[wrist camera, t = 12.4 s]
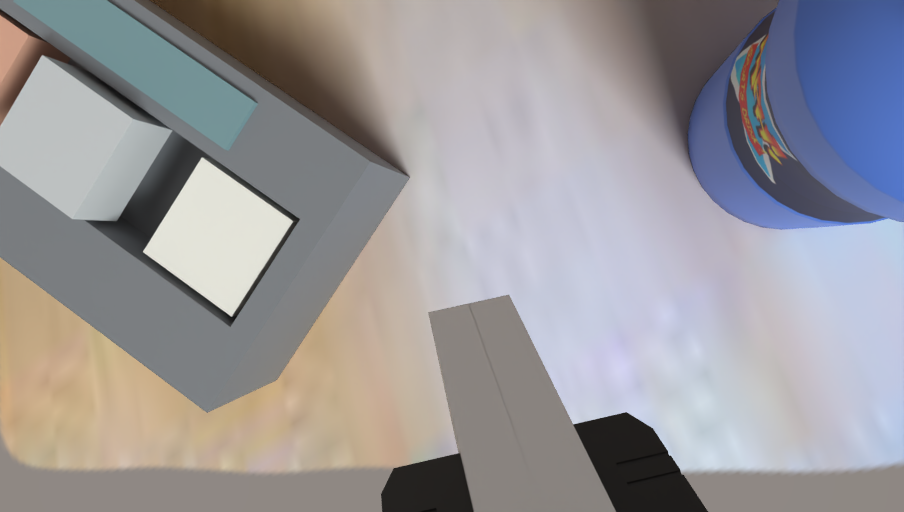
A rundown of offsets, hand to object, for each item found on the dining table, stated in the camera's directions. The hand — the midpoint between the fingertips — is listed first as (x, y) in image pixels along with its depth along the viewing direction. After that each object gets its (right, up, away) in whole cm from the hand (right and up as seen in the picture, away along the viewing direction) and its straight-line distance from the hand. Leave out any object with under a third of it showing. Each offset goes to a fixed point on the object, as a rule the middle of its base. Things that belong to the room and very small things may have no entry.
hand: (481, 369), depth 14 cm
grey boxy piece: (-16, +7, +28) cm, 33 cm away
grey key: (-17, +7, +21) cm, 28 cm away
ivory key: (-10, +3, +22) cm, 25 cm away
